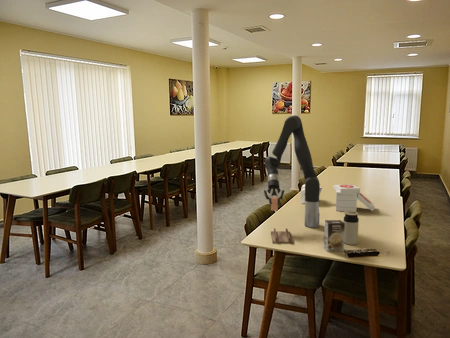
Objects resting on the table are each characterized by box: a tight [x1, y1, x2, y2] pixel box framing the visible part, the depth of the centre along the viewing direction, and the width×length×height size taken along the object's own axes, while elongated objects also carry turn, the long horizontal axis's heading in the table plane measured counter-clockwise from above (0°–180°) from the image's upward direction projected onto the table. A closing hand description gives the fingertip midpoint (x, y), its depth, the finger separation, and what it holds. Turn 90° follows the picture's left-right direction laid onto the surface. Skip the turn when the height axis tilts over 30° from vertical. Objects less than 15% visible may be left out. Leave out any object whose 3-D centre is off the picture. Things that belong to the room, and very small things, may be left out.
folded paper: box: [300, 183, 323, 205], centre depth 296 cm, size 17×24×17 cm
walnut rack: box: [270, 228, 294, 244], centre depth 211 cm, size 12×18×3 cm, turn 176°
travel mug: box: [343, 211, 360, 246], centre depth 200 cm, size 8×8×18 cm
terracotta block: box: [270, 196, 279, 211], centre depth 223 cm, size 4×4×8 cm
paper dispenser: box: [333, 184, 376, 213], centre depth 269 cm, size 19×30×18 cm, turn 73°
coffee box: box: [323, 219, 345, 253], centre depth 190 cm, size 9×6×16 cm
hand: (274, 204), depth 221 cm, fingers closed on terracotta block, 4 cm apart
